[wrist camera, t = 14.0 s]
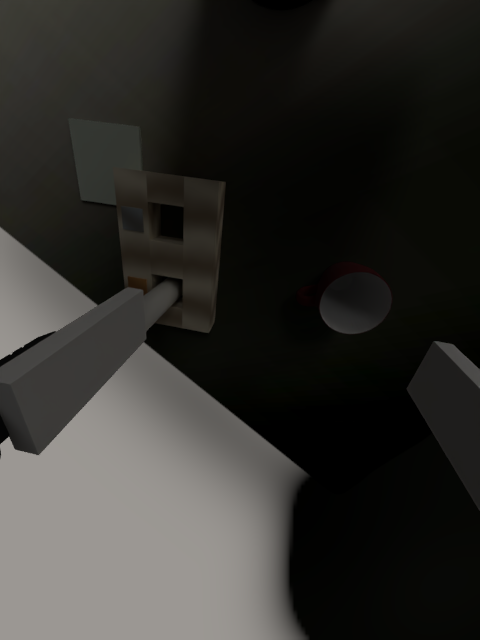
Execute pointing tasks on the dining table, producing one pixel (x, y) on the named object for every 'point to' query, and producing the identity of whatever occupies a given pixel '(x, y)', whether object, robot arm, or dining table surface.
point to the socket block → (172, 240)
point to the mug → (349, 298)
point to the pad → (103, 156)
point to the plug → (161, 299)
